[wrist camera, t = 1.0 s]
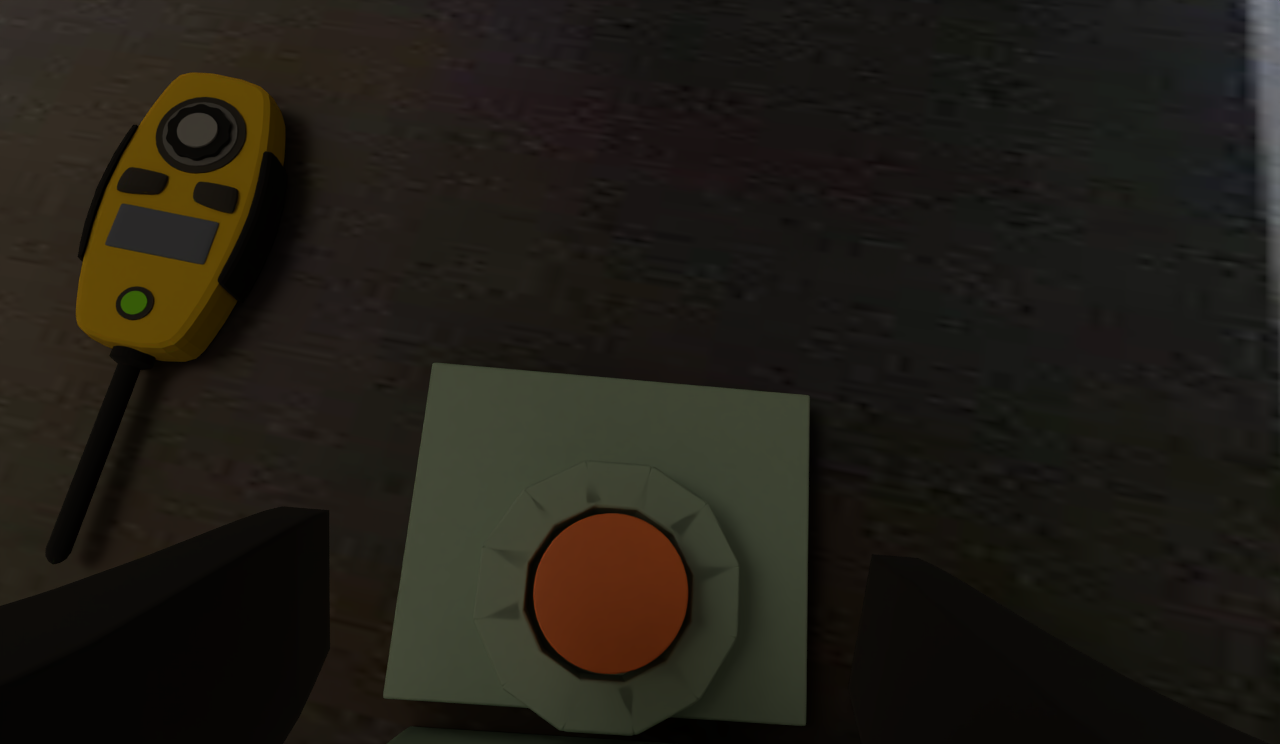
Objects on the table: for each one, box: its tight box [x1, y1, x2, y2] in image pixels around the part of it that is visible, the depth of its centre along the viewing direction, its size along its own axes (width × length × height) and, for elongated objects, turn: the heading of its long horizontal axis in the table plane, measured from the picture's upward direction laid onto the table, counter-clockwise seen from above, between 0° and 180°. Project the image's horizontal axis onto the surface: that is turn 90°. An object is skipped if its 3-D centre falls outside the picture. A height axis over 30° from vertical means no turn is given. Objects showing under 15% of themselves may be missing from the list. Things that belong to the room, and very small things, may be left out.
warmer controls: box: [383, 363, 810, 736], centre depth 22 cm, size 9×11×3 cm
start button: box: [533, 513, 688, 674], centre depth 19 cm, size 4×4×2 cm
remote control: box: [46, 73, 287, 564], centre depth 23 cm, size 5×2×15 cm
